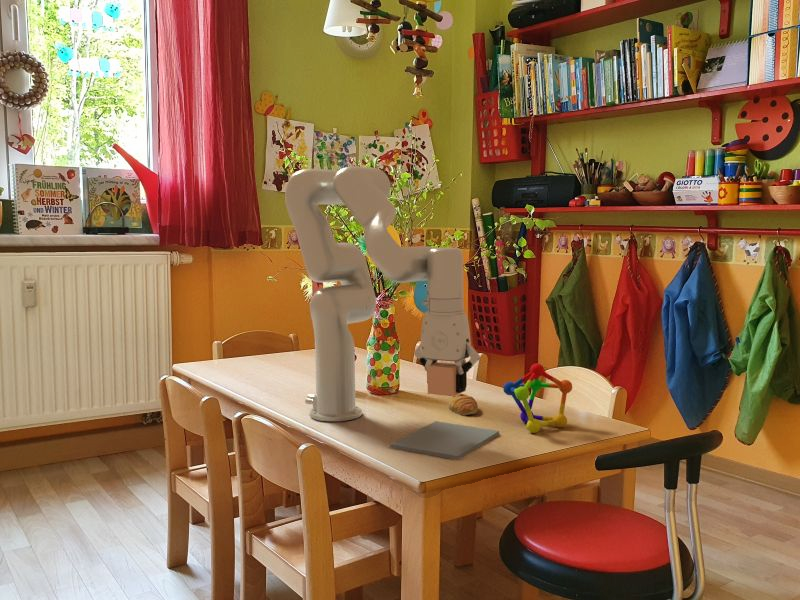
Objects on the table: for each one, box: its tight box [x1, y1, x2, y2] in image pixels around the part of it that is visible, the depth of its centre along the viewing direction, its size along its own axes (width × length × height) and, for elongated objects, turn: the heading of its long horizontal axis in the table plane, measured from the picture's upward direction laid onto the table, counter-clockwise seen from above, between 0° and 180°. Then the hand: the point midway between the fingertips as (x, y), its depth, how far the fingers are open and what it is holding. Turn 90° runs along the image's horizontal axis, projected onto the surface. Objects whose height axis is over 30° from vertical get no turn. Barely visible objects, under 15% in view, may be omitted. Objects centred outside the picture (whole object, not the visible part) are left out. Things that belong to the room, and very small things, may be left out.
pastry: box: [448, 393, 479, 416], centre depth 182 cm, size 9×7×4 cm
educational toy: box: [502, 363, 573, 434], centre depth 167 cm, size 16×13×15 cm
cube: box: [426, 360, 467, 398], centre depth 156 cm, size 6×6×6 cm
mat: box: [389, 420, 500, 461], centre depth 158 cm, size 16×20×1 cm
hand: (446, 389), depth 156 cm, fingers closed on cube, 6 cm apart
